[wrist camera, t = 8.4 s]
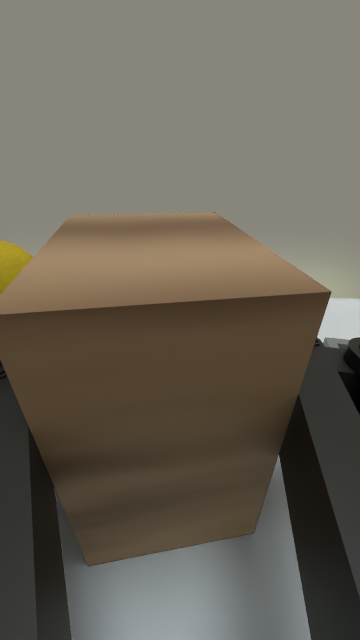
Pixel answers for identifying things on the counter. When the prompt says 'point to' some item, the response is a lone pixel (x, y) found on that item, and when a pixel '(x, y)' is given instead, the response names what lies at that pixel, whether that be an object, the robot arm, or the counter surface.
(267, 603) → the counter surface
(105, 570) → the counter surface
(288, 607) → the counter surface
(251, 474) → the walnut block
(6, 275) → the lemon
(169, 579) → the counter surface
